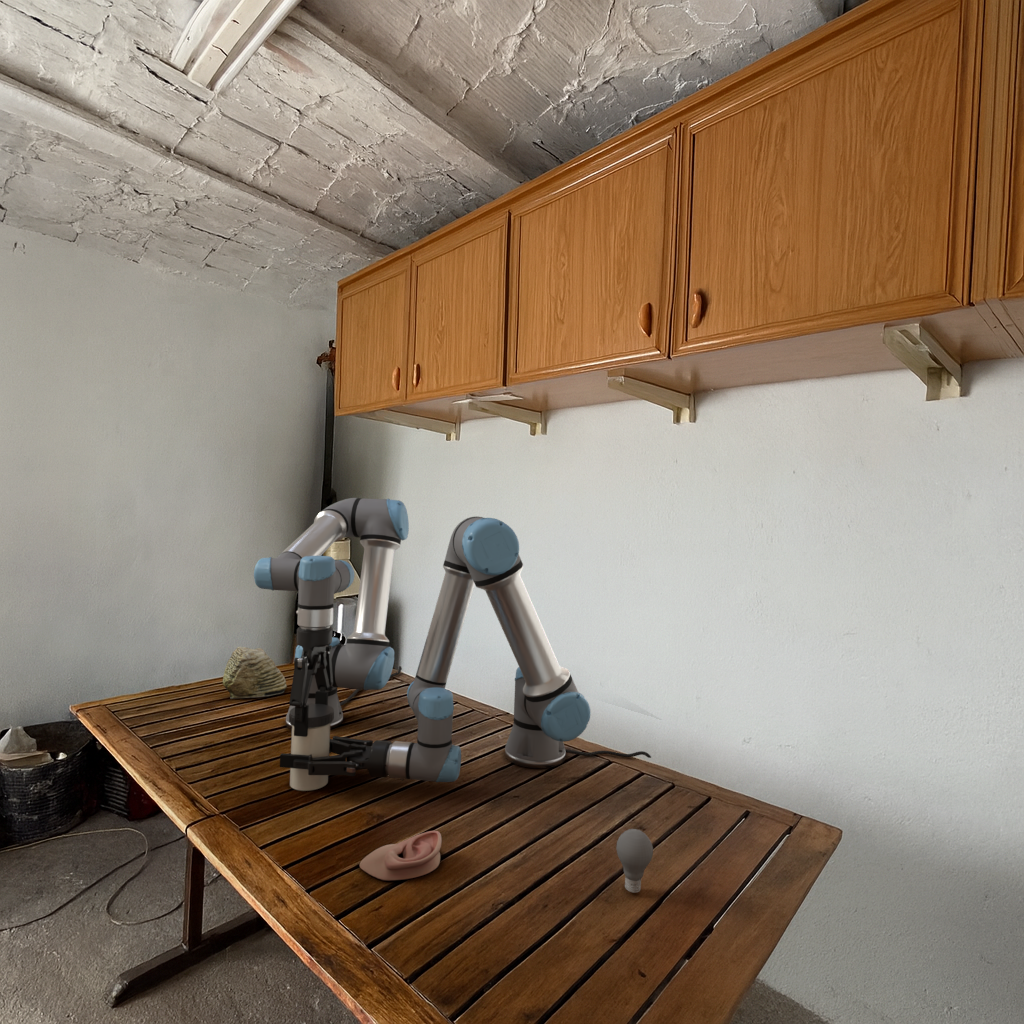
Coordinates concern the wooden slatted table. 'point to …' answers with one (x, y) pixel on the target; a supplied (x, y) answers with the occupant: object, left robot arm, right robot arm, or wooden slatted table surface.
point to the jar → (318, 747)
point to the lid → (316, 715)
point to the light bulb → (634, 857)
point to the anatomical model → (405, 858)
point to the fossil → (252, 674)
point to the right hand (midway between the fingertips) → (289, 752)
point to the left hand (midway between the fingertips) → (311, 727)
